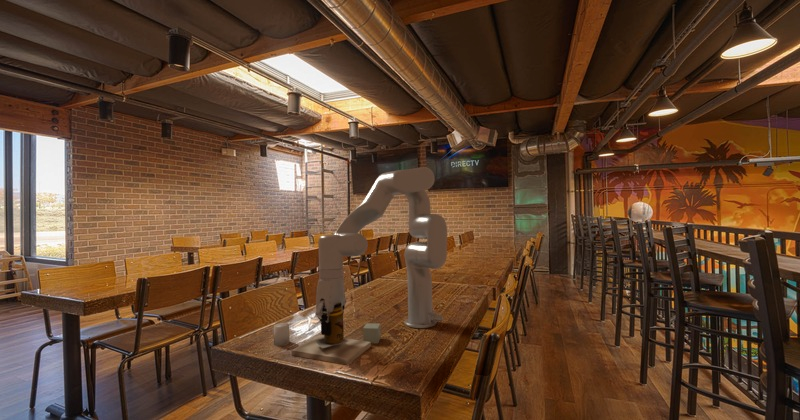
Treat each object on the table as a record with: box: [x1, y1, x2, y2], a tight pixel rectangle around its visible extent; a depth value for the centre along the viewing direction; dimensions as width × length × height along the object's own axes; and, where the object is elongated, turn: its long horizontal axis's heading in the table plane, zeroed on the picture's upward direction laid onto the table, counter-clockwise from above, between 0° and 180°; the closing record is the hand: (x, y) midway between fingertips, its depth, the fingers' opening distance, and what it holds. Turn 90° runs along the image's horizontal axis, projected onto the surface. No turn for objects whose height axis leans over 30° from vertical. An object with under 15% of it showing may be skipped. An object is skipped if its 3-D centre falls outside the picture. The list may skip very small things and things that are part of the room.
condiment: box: [315, 302, 348, 348], centre depth 105 cm, size 7×8×12 cm
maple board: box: [291, 334, 372, 365], centre depth 105 cm, size 20×14×2 cm
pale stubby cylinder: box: [273, 322, 291, 347], centre depth 112 cm, size 5×5×6 cm
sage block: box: [362, 322, 382, 344], centre depth 113 cm, size 5×5×5 cm
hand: (332, 330), depth 105 cm, fingers open, 6 cm apart
